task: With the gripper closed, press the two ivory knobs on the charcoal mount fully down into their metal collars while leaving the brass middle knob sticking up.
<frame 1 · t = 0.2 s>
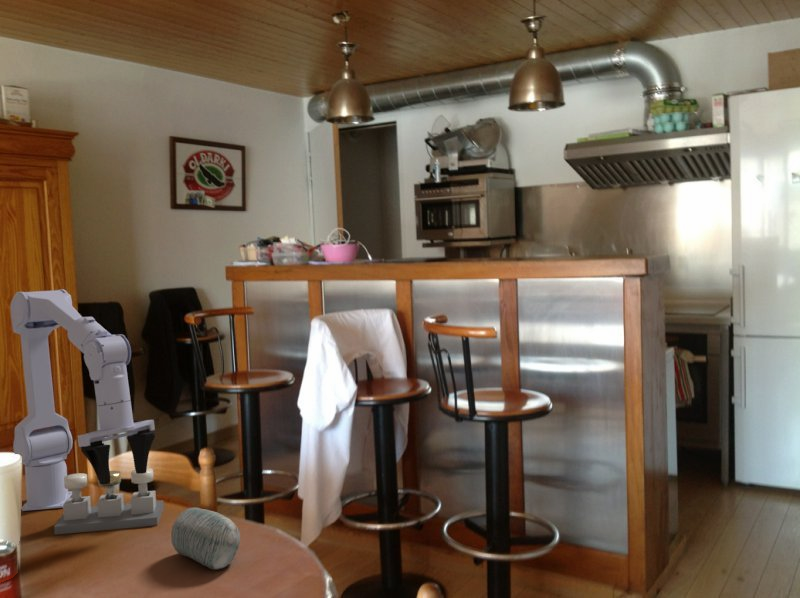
hand: (123, 478, 136), 11 cm above the table, fingers open, 7 cm apart
brass knob: (109, 486, 144), point 7 cm above the table, slide at 0.0 cm
mount: (111, 520, 145), on the table
ivory knob b: (142, 483, 145), point 7 cm above the table, slide at 0.0 cm
ivory knob a: (76, 488, 143), point 7 cm above the table, slide at 0.0 cm
spool: (207, 561, 125), on the table
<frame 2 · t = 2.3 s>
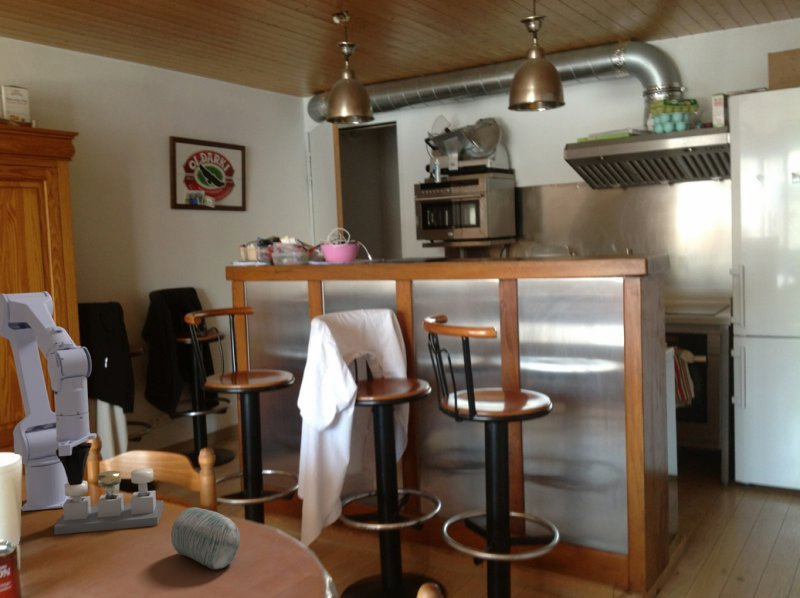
hand: (76, 483, 143), 8 cm above the table, fingers closed, pressing on ivory knob a
ivory knob a: (76, 496, 143), point 5 cm above the table, slide at 1.4 cm, touching gripper
everything else where it was.
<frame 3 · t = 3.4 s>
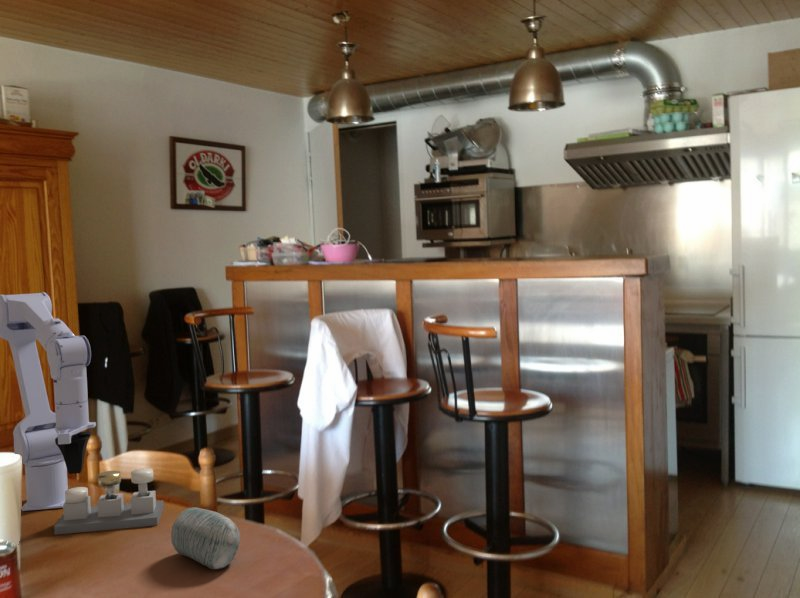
hand: (75, 472, 143), 10 cm above the table, fingers closed
ivory knob a: (77, 502, 143), point 4 cm above the table, slide at 2.7 cm
everything else where it was.
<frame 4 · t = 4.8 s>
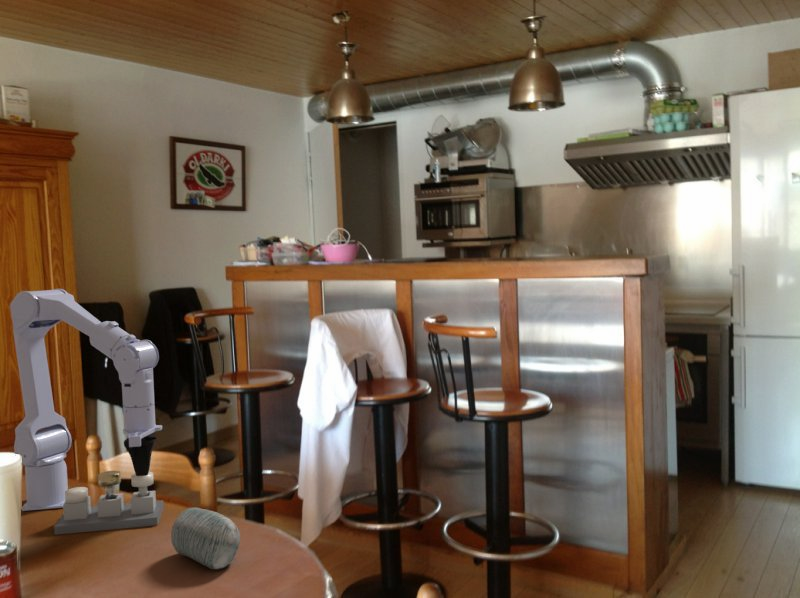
hand: (142, 474, 145), 8 cm above the table, fingers closed, pressing on ivory knob b
ivory knob b: (142, 486, 145), point 6 cm above the table, slide at 0.7 cm, touching gripper
everything else where it was.
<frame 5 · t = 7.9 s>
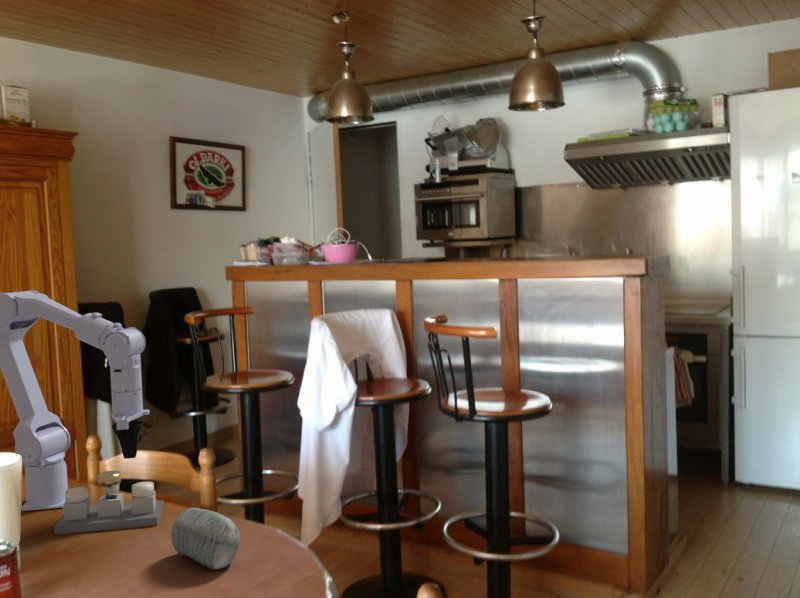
hand: (130, 457, 150), 10 cm above the table, fingers closed
ivory knob b: (143, 497, 145), point 4 cm above the table, slide at 2.7 cm
everything else where it was.
at the end: ivory knob a slide at 2.7 cm; ivory knob b slide at 2.7 cm; brass knob slide at 0.0 cm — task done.
